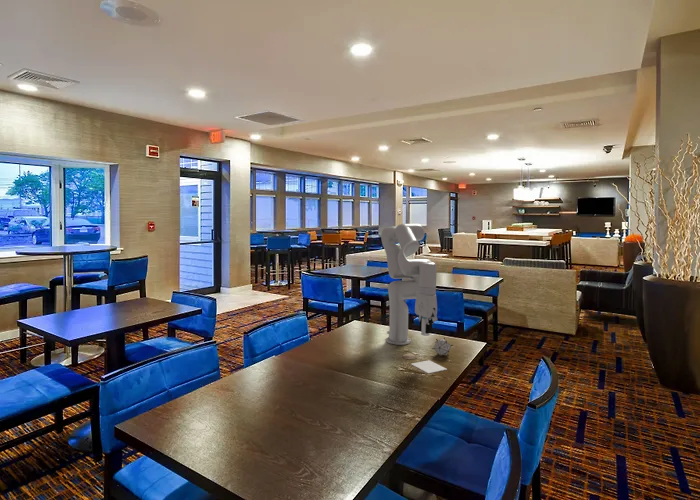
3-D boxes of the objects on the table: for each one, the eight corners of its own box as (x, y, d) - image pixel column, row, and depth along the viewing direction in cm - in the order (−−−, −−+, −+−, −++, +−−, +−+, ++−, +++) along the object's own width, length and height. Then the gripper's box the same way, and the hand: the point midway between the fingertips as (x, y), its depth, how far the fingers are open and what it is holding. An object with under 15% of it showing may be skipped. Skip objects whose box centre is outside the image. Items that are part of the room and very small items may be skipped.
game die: (445, 364, 191) (455, 351, 185) (428, 357, 191) (438, 344, 185) (446, 349, 199) (455, 336, 193) (429, 343, 198) (438, 330, 193)
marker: (419, 333, 181) (420, 313, 180) (426, 332, 183) (426, 312, 182) (424, 336, 178) (425, 316, 177) (431, 335, 180) (432, 314, 179)
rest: (399, 356, 191) (399, 355, 191) (410, 354, 194) (411, 353, 194) (407, 360, 185) (407, 359, 185) (419, 358, 188) (419, 357, 188)
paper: (410, 364, 180) (410, 363, 180) (429, 360, 185) (429, 360, 185) (428, 373, 170) (428, 373, 170) (447, 369, 174) (447, 368, 174)
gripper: (408, 287, 184) (407, 327, 186) (432, 295, 170) (431, 338, 172) (421, 286, 188) (420, 325, 190) (446, 293, 173) (445, 335, 175)
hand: (425, 331), depth 181 cm, fingers closed on marker, 3 cm apart
